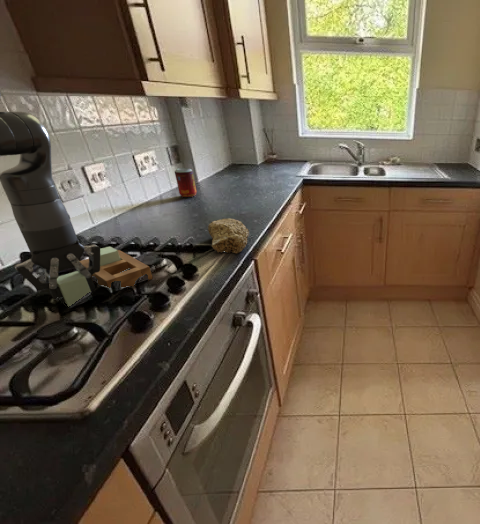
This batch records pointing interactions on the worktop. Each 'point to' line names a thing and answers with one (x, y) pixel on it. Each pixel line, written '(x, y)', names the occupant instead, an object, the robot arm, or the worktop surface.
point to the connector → (113, 270)
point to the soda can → (185, 182)
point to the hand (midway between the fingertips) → (76, 296)
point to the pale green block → (73, 287)
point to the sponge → (228, 235)
